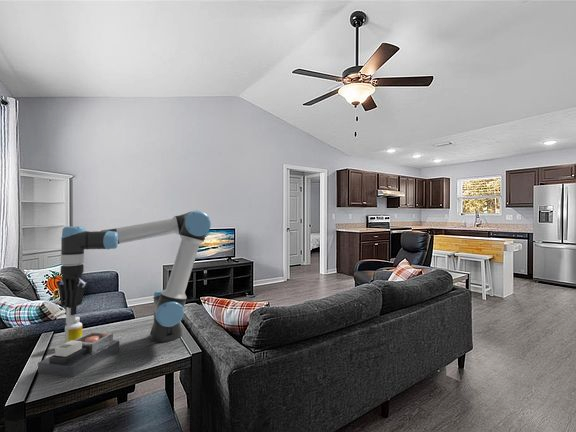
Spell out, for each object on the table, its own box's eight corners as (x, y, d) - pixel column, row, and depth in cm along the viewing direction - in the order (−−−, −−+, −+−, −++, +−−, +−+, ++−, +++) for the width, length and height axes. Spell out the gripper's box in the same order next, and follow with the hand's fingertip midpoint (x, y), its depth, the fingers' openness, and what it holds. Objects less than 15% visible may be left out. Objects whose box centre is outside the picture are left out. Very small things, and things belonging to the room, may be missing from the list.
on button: (81, 348, 119) (81, 340, 119) (65, 356, 112) (65, 348, 112) (71, 347, 120) (71, 340, 120) (55, 355, 113) (55, 347, 113)
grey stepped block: (119, 349, 131) (119, 332, 131) (73, 377, 109) (73, 357, 109) (89, 346, 134) (89, 330, 134) (38, 372, 112) (38, 353, 112)
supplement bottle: (85, 343, 137) (85, 316, 137) (71, 350, 131) (71, 321, 131) (75, 342, 140) (75, 315, 140) (61, 347, 133) (61, 319, 133)
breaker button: (101, 343, 129) (101, 336, 129) (92, 348, 124) (92, 341, 124) (92, 342, 129) (92, 335, 129) (82, 347, 125) (82, 340, 125)
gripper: (93, 263, 120) (92, 321, 120) (68, 262, 123) (66, 318, 123) (76, 266, 113) (75, 327, 112) (50, 264, 116) (48, 324, 115)
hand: (70, 322), depth 118 cm, fingers closed
